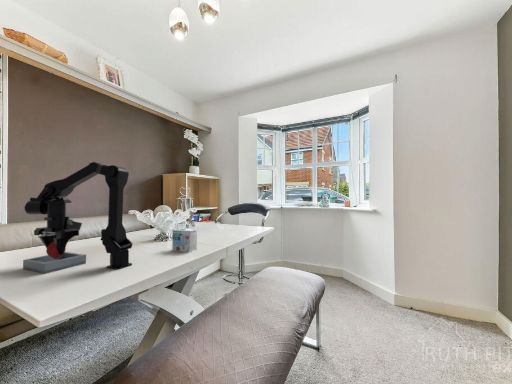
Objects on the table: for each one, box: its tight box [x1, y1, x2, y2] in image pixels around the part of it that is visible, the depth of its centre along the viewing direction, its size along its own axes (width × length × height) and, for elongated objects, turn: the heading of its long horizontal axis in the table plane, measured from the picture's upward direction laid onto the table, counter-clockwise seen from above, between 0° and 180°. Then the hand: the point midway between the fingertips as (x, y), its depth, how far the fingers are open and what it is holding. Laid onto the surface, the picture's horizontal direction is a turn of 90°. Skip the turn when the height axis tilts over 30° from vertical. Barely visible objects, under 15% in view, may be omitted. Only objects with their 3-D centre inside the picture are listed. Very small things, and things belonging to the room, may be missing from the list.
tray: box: [22, 251, 87, 275], centre depth 91 cm, size 14×14×4 cm
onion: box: [46, 242, 67, 259], centre depth 92 cm, size 6×6×8 cm
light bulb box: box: [171, 227, 198, 253], centre depth 119 cm, size 11×7×11 cm, turn 73°
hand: (56, 253), depth 92 cm, fingers closed on onion, 6 cm apart
